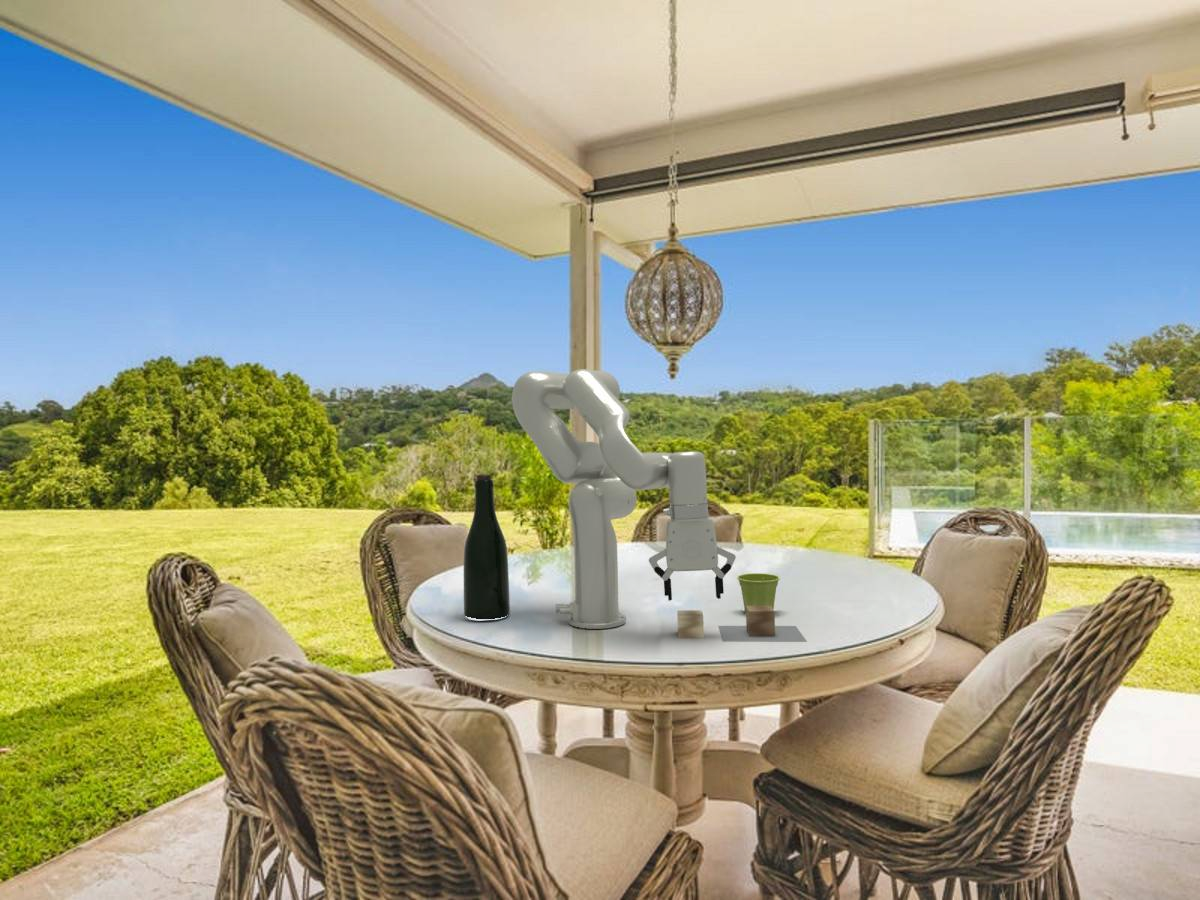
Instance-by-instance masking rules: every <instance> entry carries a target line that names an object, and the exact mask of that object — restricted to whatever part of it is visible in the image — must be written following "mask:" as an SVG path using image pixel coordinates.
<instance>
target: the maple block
mask: <svg viewBox="0 0 1200 900" xmlns="http://www.w3.org/2000/svg"><path fill="white" fill-rule="evenodd" d="M676 612H677V638H678V639H704V638H705V637H704V633H705V632H704V614H703V610H701V609H700V610H698V609H697V610H695V609H692V610H684V609H683V610H677V611H676Z"/></svg>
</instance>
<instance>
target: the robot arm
mask: <svg viewBox="0 0 1200 900" xmlns="http://www.w3.org/2000/svg"><path fill="white" fill-rule="evenodd" d="M512 388H513V389H512V395H511V404H512V409H513V413H514V415H515V417H516V419H517V422H518V423H519V425H520V426H521V427H522V430H524V431H525V433H526V434H527V435H528V437H529V438H530V439H531V440H532V442H533V443H534V445H535V447H536V448H537V451H538V452H539V453H540V455H541V456H542V459H544V461H545V462H546V464H547V466H548V467H549V469H550V470H551V473H553V475H554V476H555V477H556V479H557V480H558V481H560V482H562V483H564V484H575V486H573V488H572V489H571V491H570V493H569V495H568V509H569V510H568V511H569V515H570V520H571V526H572V533H573V535H572V536H573V552H574V555H573V556H574V557H573V558H574V591H575V592H574V593H575V595H574V596H575V600H574V601H573V602H570V603H569V604H566V603H565V604H564V603H555V613H559V615H567V614H568V615H569V614H570V615H569V617H568V624H569V625H570V626H572V627H574V626H575V628H578V627H579V629H585V628H586V630H602V629H611V628H616V627H620V626H623V625H624V624H625V623H626V621H627V619H626V615H625V614H623V613H621V612H620V611H619V610H620V609H619V576H618V575H619V572H618V571H619V570H618V569H619V568H618V563H619V561H618V541H617V535H616V531H615V529H614V525H613V523H612V520H618V519H619V520H620V519H623V518H626V517H628V516H629V515H631V514H632V513H633V512H634V510H635V509H636V506H637V501H638V497H637V492H636V491H646V490H647V491H648V490H658V489H664V488H668V493H669V505H670V506H668V507H666V508H662V510H663V516H668V517H670V520H667V522H666V530H665V531H666V533H665V549H663V550H661V551H659V552H658V553H655V554H654V555H652V556H650V557H649V558H648V562H649V565H650V566H651V568H652V569H653V571H654V572H655V574H657V576H659V578H661V579H662V580H663V588H664V590H663V591H664V596H666V597H668V602H669V601H670V602H671V601H672V600H673V598H672V597H673V593H672V579H671V578H670V577H671V576H672V574H673V573H674V572H692V571H693V572H695V571H696V572H697V571H711V570H712V572H713V573H714V574H715V577H714V582H715V597H716V599H719V600H721V595H722V594H724V593H725V592H724V590H725V589H724V578H725V576H726V575H727V574H728V573H729V572H730V571H731V569H732V567H733V564H734V562H735V561H736V558H737V557H736V555H735V554H734V553H732V552H730V551H728V550H725V549H723V548H721V547H719V546H718V542H717V536H716V529H715V524H714V520H713V519H712V518H709V505H708V488H707V471H706V458H705V455H704V454H703V452H701V451H694V450H693V451H692V450H691V451H678V452H672V453H671V452H641V450H639V448H638V447H637V446H636V444H634V442H632V441H631V439H630V438H629V436H628V435H627V433H626V432H625V428H626V427H627V426H628V424H629V421H630V419H631V417H630V416H631V415H630V411H629V410H628V408H626V406H625V405H624V404H623V403H622V402H621V401H620V400H619V398H620V394H621V388H620V384H619V382H618V380H617V379H616V377H615V376H614V375H612V374H611V373H609V372H607V371H602V370H594V369H586V368H584V369H583V368H581V369H576V370H574V371H572V372H570V373H560V372H551V371H542V370H540V371H539V370H535V371H530V372H529V371H528V372H526V373H523V374H522V375H520V376H519V377H518V378H517V380H516V381H515V382H514V385H513V387H512ZM551 409H552V410H555V409H556V410H575V411H576V412H577V413H578V414H579V415H580V417H581V418H582V419H583V420H584V421H585V422H586V423H587V424H588V425H589V427H590V428H591V429H592V431H593V432H595V434H596V435H597V437H598V442H594V441H581V440H579V439H578V438H576V437H575V435H574V434H573V433H572V432H571V430H570V429H569V428H568V427H569V426H567V424H566V422H564V421H563V420H562V418H560V417H559V416H558V415H557V414H556V413H555V412H553V411H552V410H551ZM719 555H720V556H722V557H724V558H726V562H725V564H724V565H722V567H721V568H720V567H719ZM665 557H666V558H665ZM664 558H665V560H666V567H667V568H666V569H665V570H663V568H661V567H660V566H659V564H658V561H660V560H661V559H664Z"/></svg>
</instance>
